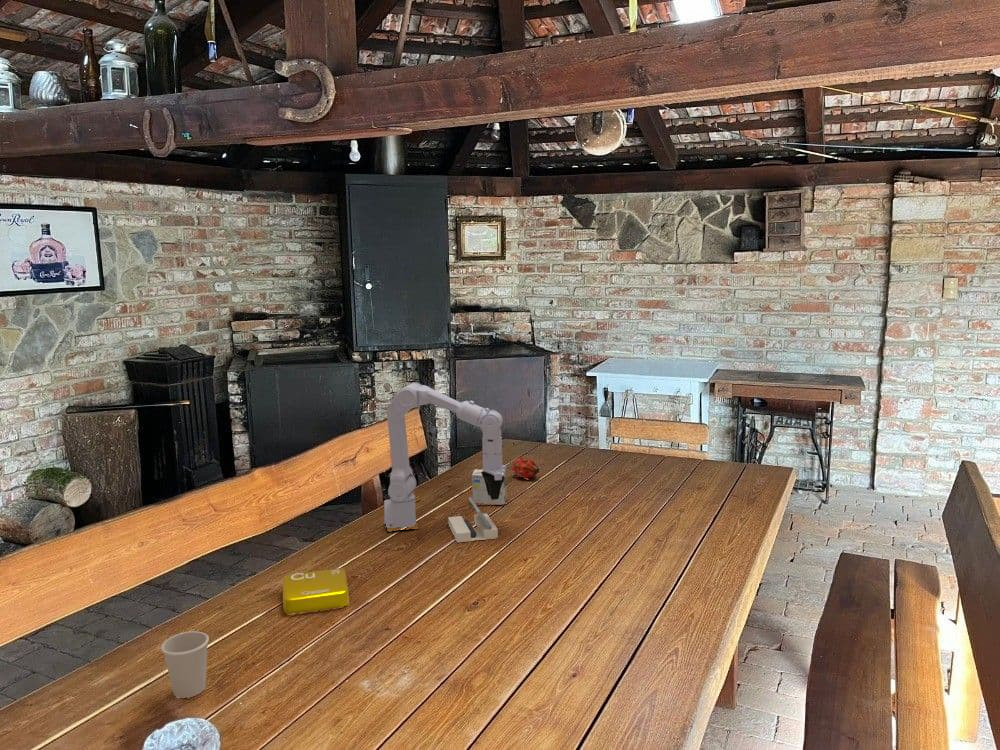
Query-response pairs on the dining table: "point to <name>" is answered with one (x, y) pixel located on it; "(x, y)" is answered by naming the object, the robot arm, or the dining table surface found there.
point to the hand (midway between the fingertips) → (493, 497)
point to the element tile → (315, 590)
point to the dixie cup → (186, 662)
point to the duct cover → (480, 513)
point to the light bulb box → (481, 491)
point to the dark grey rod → (473, 533)
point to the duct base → (464, 533)
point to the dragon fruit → (524, 468)
